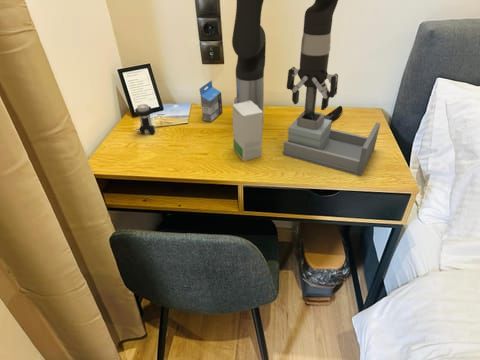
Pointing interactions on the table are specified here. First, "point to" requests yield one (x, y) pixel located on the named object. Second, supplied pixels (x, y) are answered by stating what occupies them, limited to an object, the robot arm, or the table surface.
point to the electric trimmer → (334, 113)
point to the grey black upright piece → (145, 119)
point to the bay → (338, 151)
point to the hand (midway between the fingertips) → (309, 106)
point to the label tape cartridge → (210, 102)
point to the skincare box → (247, 130)
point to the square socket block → (310, 131)
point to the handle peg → (310, 103)
